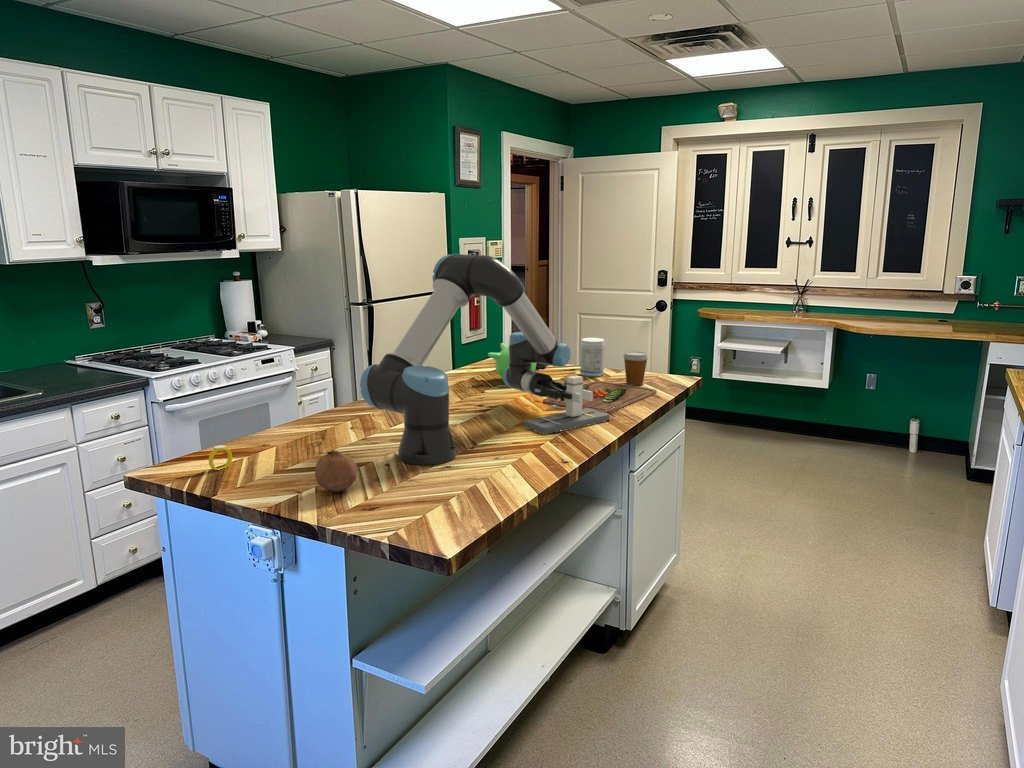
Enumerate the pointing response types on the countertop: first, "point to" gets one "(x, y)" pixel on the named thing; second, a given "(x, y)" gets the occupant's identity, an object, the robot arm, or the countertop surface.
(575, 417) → the fader console
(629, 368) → the disposable coffee cup
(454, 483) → the countertop surface
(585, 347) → the supplement tub
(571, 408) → the fader knob
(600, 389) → the chopping board
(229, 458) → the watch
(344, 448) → the countertop surface
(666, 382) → the countertop surface
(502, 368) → the green rounded body
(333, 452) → the onion
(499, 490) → the countertop surface
